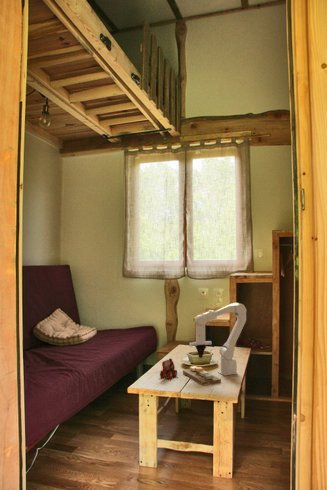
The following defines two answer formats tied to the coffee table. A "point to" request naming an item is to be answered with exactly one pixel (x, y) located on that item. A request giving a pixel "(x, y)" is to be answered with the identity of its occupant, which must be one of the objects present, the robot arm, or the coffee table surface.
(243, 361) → the coffee table surface
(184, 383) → the coffee table surface
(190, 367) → the cream key
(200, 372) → the pale green cube
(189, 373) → the brown wooden board
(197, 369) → the terracotta key
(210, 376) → the pale grey cube
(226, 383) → the coffee table surface
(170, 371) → the dark red teddy bear
